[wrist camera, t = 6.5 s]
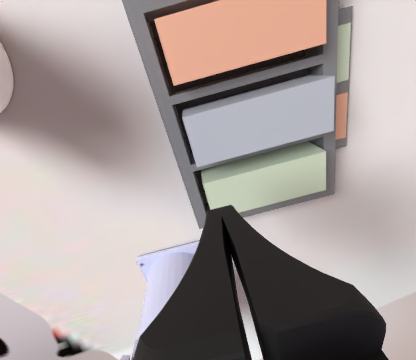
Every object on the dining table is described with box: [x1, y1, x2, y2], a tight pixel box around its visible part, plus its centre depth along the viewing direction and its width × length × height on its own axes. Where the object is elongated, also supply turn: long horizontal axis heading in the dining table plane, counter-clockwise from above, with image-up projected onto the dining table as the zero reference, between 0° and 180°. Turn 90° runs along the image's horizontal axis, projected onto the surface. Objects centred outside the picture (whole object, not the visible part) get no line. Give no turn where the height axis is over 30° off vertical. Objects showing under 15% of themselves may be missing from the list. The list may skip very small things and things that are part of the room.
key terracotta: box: [154, 0, 326, 86], centre depth 15 cm, size 4×10×3 cm, turn 104°
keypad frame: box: [122, 0, 338, 229], centre depth 18 cm, size 18×13×3 cm
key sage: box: [201, 141, 326, 213], centre depth 20 cm, size 4×10×3 cm, turn 104°
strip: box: [335, 6, 353, 149], centre depth 19 cm, size 11×2×1 cm, turn 14°
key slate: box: [182, 75, 335, 167], centre depth 16 cm, size 4×10×3 cm, turn 104°
